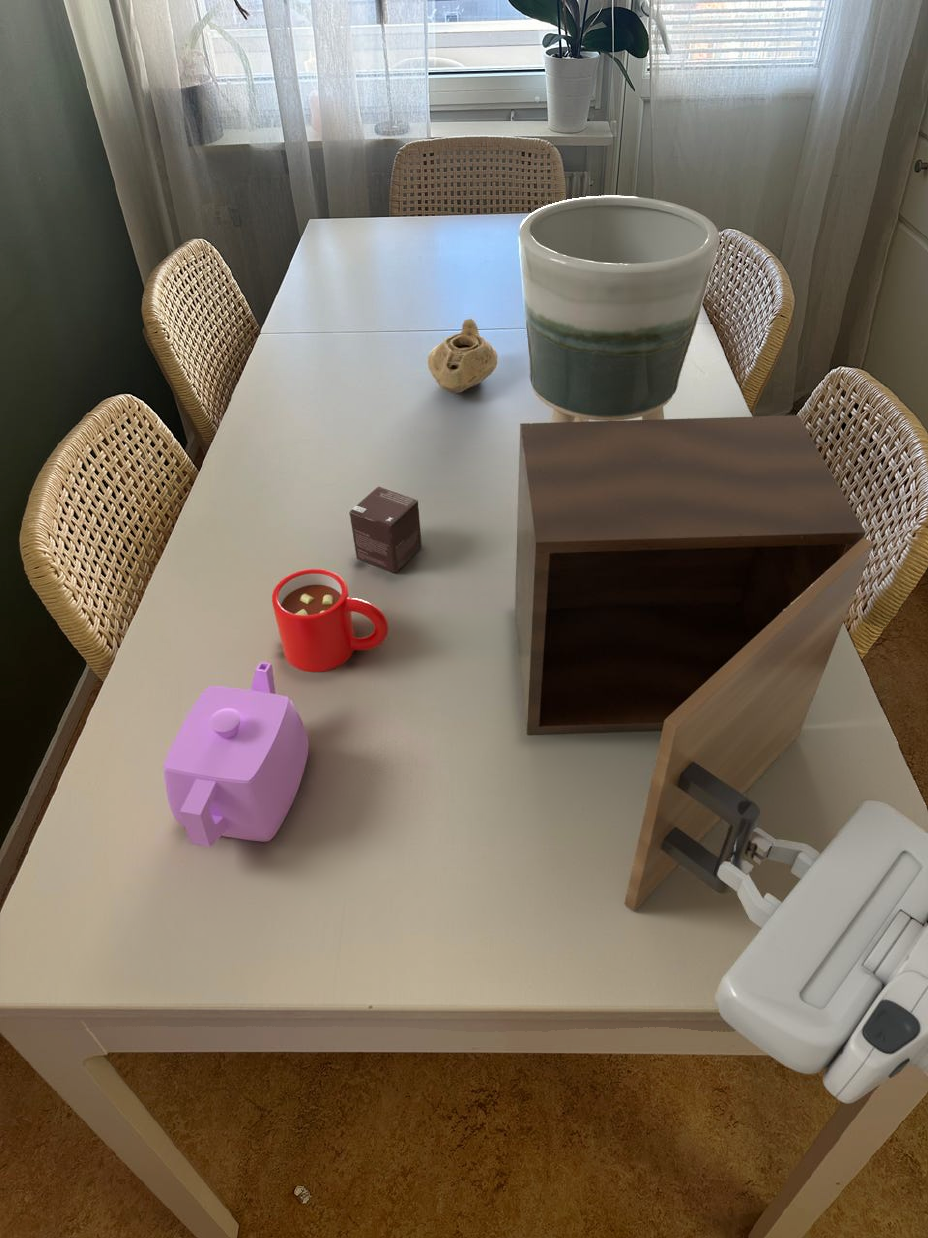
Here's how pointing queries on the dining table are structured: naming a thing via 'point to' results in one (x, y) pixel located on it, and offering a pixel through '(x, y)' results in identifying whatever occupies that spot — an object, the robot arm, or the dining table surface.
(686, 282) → the planter
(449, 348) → the oil lamp
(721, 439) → the cupboard
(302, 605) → the mug
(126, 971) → the dining table surface
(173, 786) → the teapot
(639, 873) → the cupboard door
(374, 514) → the box
